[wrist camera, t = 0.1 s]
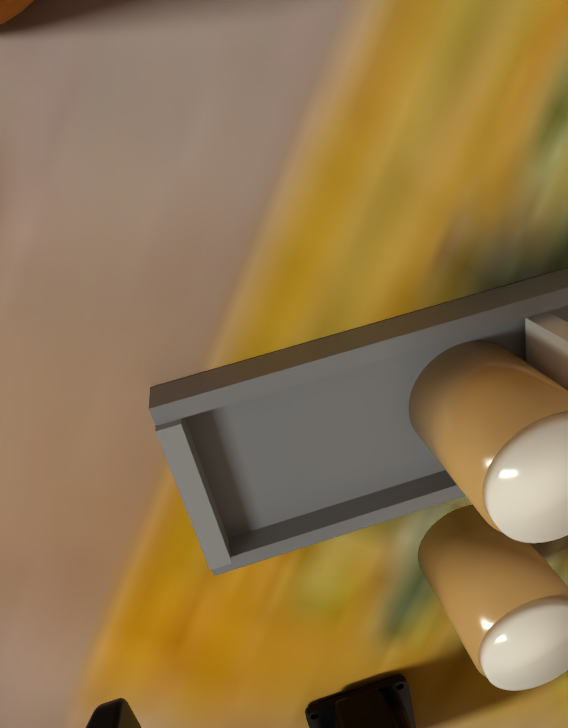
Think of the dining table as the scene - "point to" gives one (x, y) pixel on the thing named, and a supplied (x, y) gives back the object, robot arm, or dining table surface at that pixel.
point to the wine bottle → (12, 8)
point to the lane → (325, 427)
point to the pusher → (548, 346)
